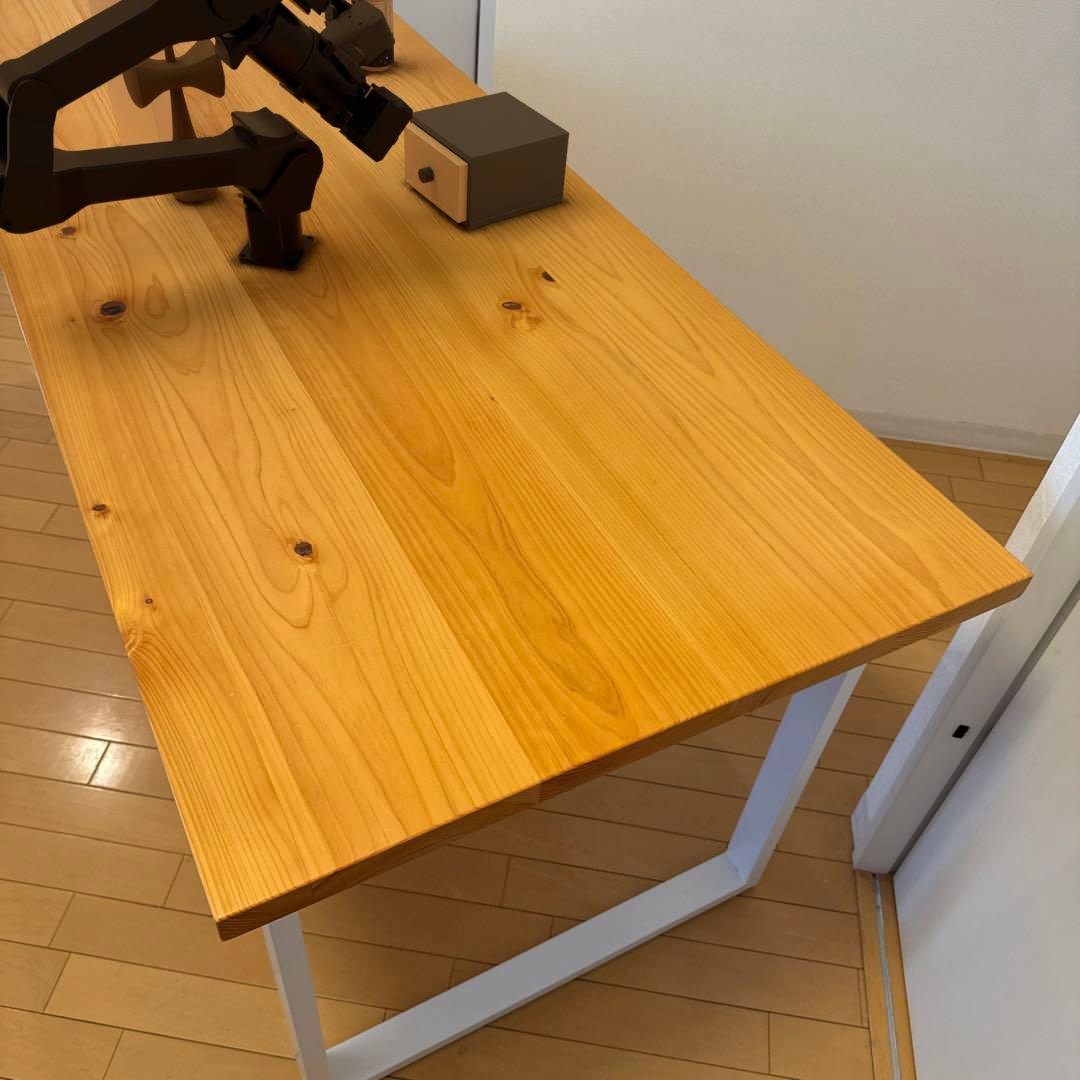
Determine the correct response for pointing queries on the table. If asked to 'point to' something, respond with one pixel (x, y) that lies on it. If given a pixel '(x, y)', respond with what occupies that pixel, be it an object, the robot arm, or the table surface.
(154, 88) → the kendama
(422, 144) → the drawer
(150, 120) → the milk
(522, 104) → the cabinet
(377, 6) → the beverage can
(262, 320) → the table surface
